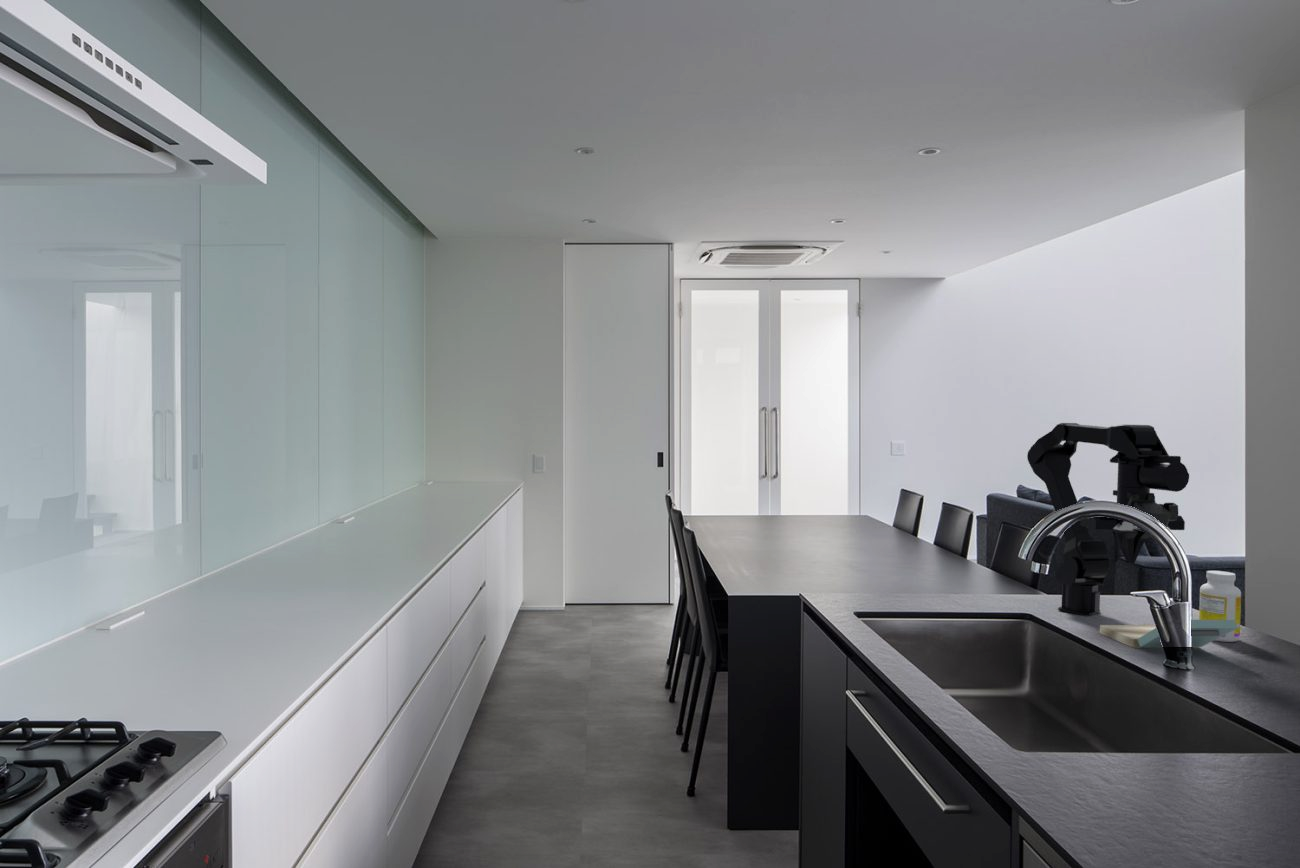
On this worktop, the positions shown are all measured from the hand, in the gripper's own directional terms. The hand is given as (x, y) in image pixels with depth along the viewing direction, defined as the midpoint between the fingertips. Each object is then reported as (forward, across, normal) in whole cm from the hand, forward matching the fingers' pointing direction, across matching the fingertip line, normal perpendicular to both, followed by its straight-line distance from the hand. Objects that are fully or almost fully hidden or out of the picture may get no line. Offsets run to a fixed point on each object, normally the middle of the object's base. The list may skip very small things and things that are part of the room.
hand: (1130, 563), depth 169 cm
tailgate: (+12, -2, -15) cm, 20 cm away
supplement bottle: (+13, +13, -8) cm, 20 cm away
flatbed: (+13, -2, -9) cm, 16 cm away
